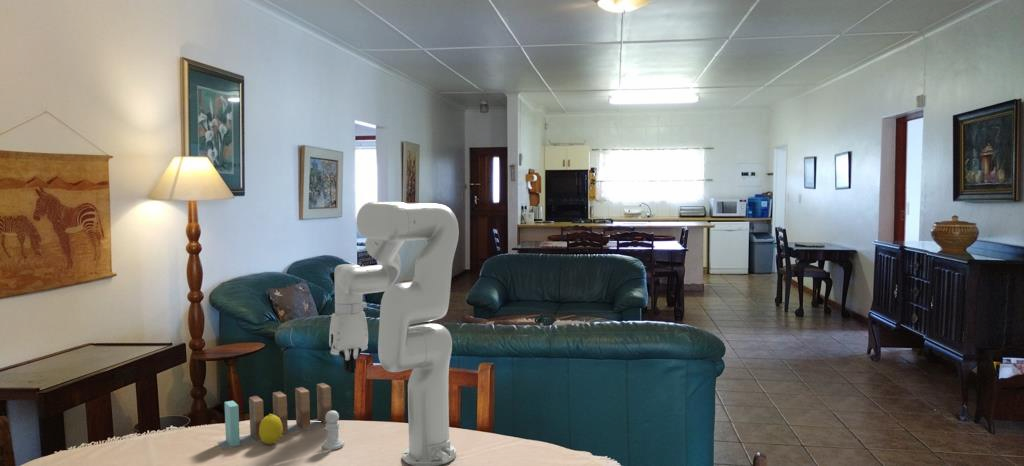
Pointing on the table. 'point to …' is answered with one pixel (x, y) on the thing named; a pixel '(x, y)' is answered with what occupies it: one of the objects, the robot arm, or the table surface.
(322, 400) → the domino
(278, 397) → the domino
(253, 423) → the domino
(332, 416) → the chess piece
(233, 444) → the domino end
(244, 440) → the grey flat board
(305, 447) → the table surface
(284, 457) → the table surface
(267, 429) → the lemon
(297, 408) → the domino
